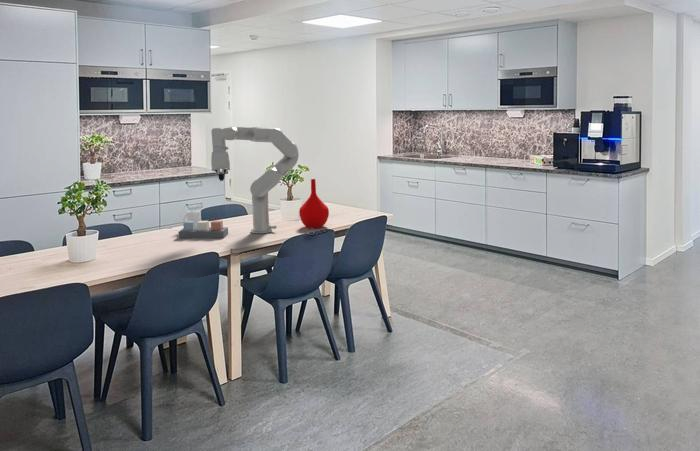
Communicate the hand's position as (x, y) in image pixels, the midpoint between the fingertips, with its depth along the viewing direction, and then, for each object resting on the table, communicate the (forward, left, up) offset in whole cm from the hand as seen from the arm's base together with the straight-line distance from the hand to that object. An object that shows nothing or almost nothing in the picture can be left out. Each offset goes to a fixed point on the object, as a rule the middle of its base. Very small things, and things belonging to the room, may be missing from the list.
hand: (221, 180), depth 359 cm
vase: (-53, -15, -32) cm, 63 cm away
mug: (+21, -7, -32) cm, 39 cm away
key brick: (+2, +9, -29) cm, 31 cm away
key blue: (+18, +9, -29) cm, 36 cm away
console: (+10, +9, -31) cm, 34 cm away
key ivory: (+10, +9, -29) cm, 32 cm away
